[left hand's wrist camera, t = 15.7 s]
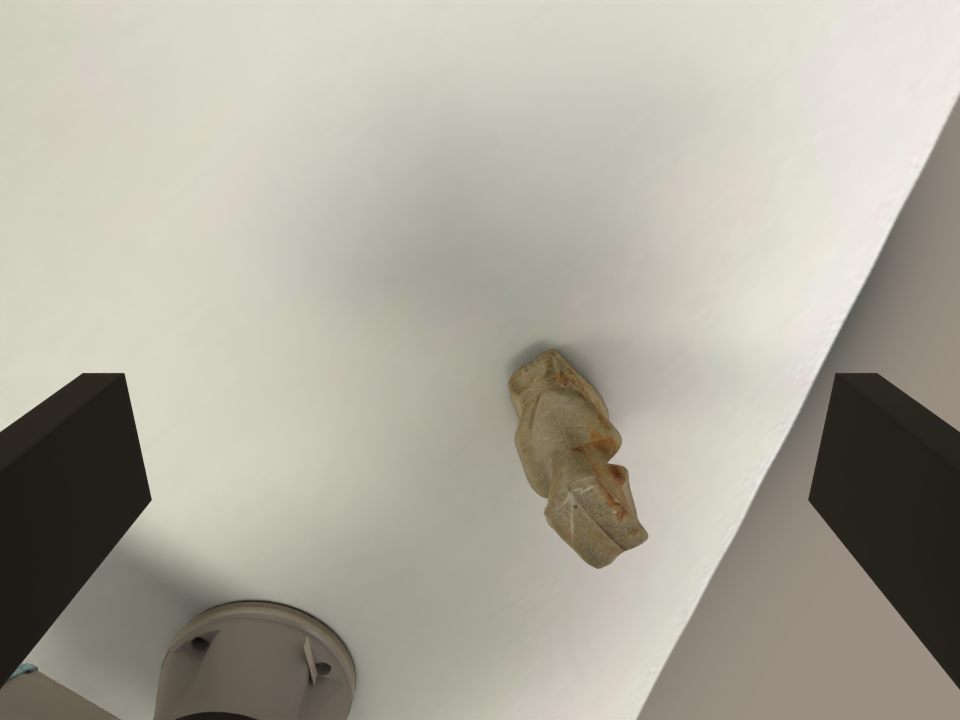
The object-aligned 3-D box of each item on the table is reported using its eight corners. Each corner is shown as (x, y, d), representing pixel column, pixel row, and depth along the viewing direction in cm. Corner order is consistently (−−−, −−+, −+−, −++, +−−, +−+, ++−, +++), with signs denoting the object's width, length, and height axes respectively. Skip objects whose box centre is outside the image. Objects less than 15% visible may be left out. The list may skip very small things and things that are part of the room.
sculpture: (547, 448, 47) (575, 597, 33) (489, 371, 45) (494, 496, 31) (618, 406, 46) (678, 542, 32) (563, 324, 44) (601, 433, 30)
